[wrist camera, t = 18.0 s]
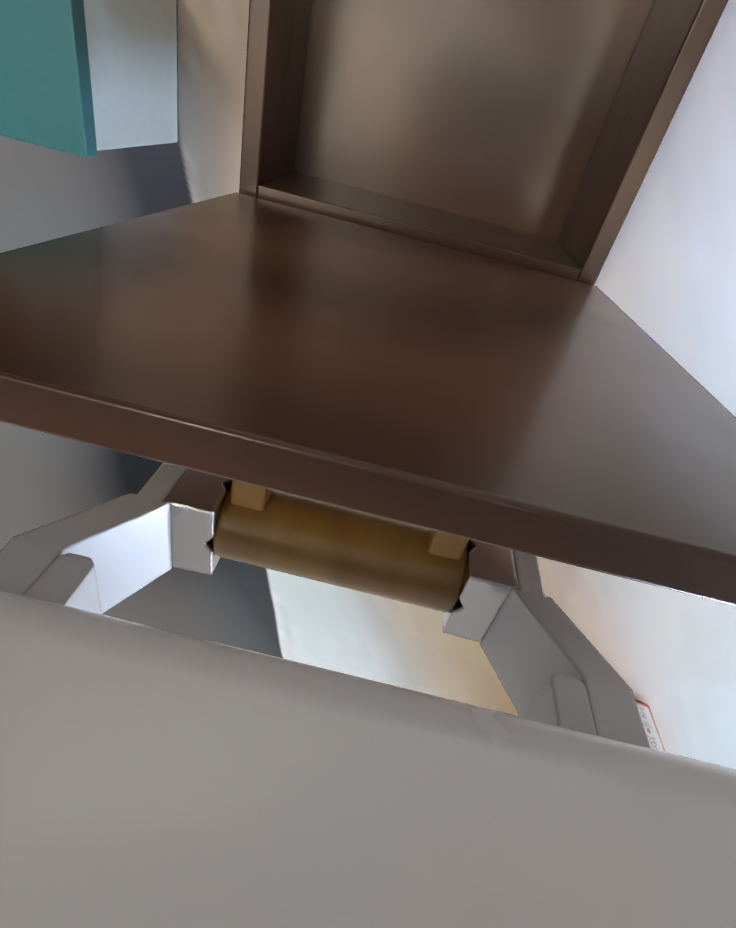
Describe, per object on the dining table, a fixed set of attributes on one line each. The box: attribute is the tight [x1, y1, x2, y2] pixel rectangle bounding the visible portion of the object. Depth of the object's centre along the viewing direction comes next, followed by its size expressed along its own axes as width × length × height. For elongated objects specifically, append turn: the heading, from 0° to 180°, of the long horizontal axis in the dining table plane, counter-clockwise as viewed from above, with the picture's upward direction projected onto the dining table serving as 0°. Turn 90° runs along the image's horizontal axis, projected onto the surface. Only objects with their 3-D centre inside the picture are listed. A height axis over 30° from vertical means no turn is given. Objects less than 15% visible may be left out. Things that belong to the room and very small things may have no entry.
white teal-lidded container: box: [0, 0, 178, 157], centre depth 21 cm, size 6×5×8 cm
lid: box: [0, 193, 736, 612], centre depth 15 cm, size 17×16×5 cm
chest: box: [239, 0, 728, 285], centre depth 19 cm, size 17×16×7 cm
